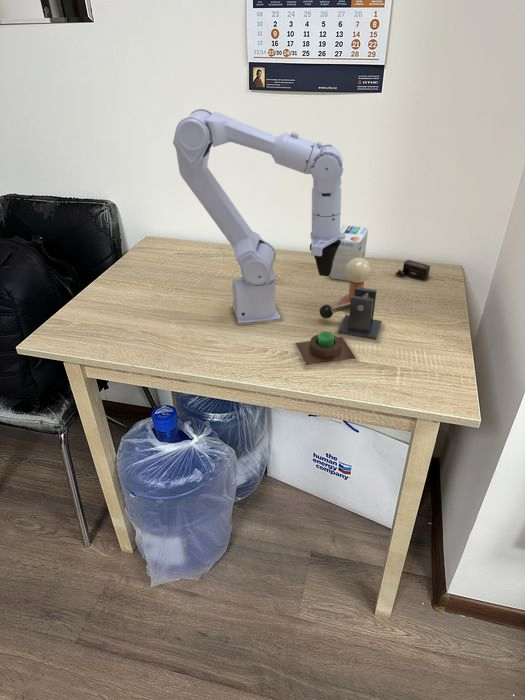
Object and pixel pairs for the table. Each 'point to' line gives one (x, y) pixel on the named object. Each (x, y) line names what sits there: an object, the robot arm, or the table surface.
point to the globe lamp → (356, 276)
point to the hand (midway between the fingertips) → (324, 274)
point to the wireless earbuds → (415, 270)
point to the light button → (325, 339)
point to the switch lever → (336, 308)
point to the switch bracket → (361, 316)
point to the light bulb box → (349, 250)
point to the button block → (324, 351)
